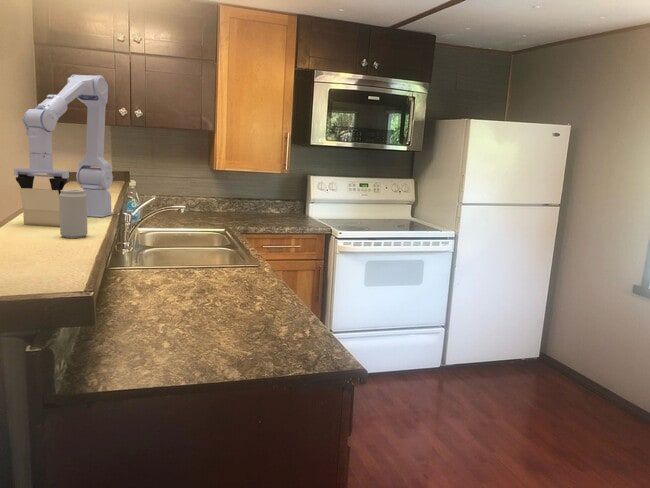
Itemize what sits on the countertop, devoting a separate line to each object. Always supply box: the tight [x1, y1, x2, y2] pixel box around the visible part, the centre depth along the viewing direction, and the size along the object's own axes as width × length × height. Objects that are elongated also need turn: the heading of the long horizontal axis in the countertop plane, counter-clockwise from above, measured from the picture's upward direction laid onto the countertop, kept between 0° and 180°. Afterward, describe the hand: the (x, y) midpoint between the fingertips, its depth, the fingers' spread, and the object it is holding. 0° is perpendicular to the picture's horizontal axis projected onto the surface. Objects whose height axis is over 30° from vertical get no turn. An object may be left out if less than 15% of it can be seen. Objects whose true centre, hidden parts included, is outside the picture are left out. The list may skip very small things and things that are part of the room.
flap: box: [19, 187, 60, 211], centre depth 152 cm, size 6×11×1 cm
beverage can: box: [59, 189, 89, 239], centre depth 140 cm, size 6×6×12 cm
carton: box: [22, 208, 60, 228], centre depth 156 cm, size 6×11×4 cm, turn 88°
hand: (42, 202), depth 153 cm, fingers open, 7 cm apart
